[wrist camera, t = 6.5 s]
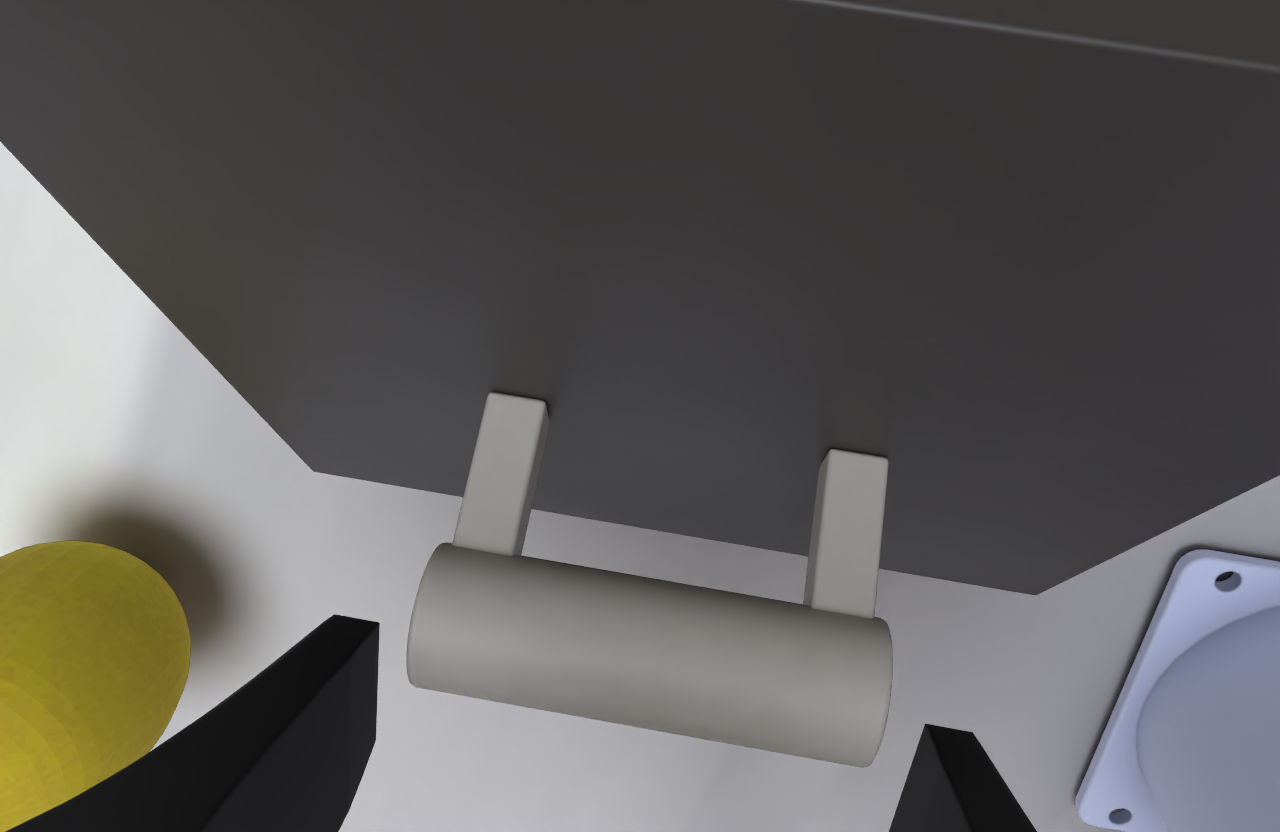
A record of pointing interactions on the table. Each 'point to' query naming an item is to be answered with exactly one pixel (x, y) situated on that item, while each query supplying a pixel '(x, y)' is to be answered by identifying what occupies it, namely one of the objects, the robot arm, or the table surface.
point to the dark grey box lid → (702, 296)
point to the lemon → (82, 670)
